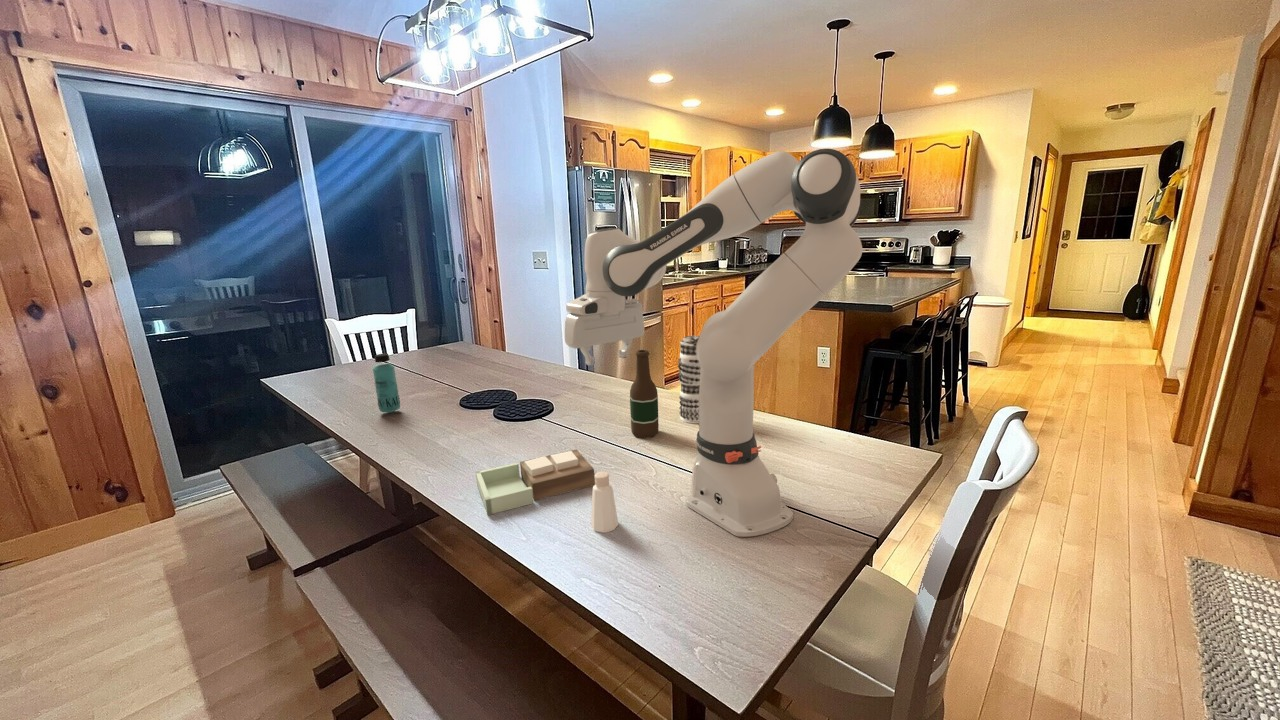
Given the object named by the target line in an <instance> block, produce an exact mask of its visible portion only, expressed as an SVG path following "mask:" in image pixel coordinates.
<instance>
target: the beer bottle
mask: <svg viewBox="0 0 1280 720" xmlns="http://www.w3.org/2000/svg"><path fill="white" fill-rule="evenodd" d="M635 356H636V361H635V362H636V363H635V364H636V366H635V370H636V372H635V373H636V374H635V379H634V381H633V383H632V384H631V386H630V389H629V407H630V408H629V410H630V412H629V413H630V429H631V433H632V435H633V436H634V437H635V438H638V439H639V438H640V439H644V440H645V439H650V438H654V437H655V436H657V435H658V434H659V428H660V427H659V397H658V396H659V395H658V388H657V386H656V384H655V383H654V381H653V380H652V377H651V376H652V375H651V372H650V371H651V370H650V358H649V356H650V352H649V351H648V350H647V349H638V350H637V351H635Z"/></svg>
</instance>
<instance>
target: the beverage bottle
mask: <svg viewBox="0 0 1280 720" xmlns="http://www.w3.org/2000/svg"><path fill="white" fill-rule="evenodd" d="M390 360H391V359H390V356H389V354H388V353H378V354H376V355H375V356H374V362H375V363H378V364H376V365H375V366H374V367H373V368H372V371H373V372H372V373H373V379H374V387H375V392H376V393H375V394H376V397H377V398H376V399H377V405H378V410H379V412H381V413H392V412H395V411H398V410H400V408H401V400H400V398H401V397H400V394H399V388H398V382H397V377H396V371H395V370H396V369H395V366H394V365H393V364H391V363H388V361H390ZM385 362H386V363H385Z"/></svg>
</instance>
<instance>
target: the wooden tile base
mask: <svg viewBox="0 0 1280 720" xmlns="http://www.w3.org/2000/svg"><path fill="white" fill-rule="evenodd" d="M568 451H569V450H568ZM568 451H566V452H568ZM570 451H572V452H573V454H574V455H575V456H576V457H577V458H578V466H573V467H569V468H565V469H561V470H557V469H556V468H555V466H554V465H553V470H554V471H551V472H547V473H543V474H540V475H536V476H533V477H532V476H531V475H530V474H529V472H528V471H527V470H526V469H525V464H524V462H525V461H528V460H529V459H527V460H523V461H519V465H520V467H519V468H520V477H521V479H522V481H523V483H524V485H525V487H526V488H527V487H531V488H532V494H533V502H534V501H538V500H542V499H546V498H549V497H553V496H557V495H562V494H566V493H569V492H573V491H577V490H582V489H586V488H588V487H593V486H594V485H595V484H596V483H595V477H594V475H595V468H594V467H593V466H592V465H591V464H590V463H589V461H587V459H586V458H585V457H584V456H583V455H582V454H581V452H580V451H579V450H578V449H576V448H575V449H573V450H572V449H571V450H570ZM563 452H564V451H563ZM563 452H561V453H563ZM559 453H560V452H559ZM559 453H557V454H559ZM554 454H555V453H554ZM554 454H550V455H544V456H545V457H546V458H547V459H548V460H549V461H550V462H551V455H554ZM532 459H533V458H532ZM532 459H530V460H532ZM534 459H536V458H534ZM551 463H552V462H551Z"/></svg>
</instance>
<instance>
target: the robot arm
mask: <svg viewBox="0 0 1280 720" xmlns="http://www.w3.org/2000/svg"><path fill="white" fill-rule="evenodd" d="M861 209H862V198H861V184H860V180H859V178H858V175H857V171H856V168H855V166H854V164H853V162H852V161H851V159H850V158H849V157H848V156H847V155H846V154H844V153H843V152H841V151H839V150H837V149H833V148H820V149H816V150H813V151H811V152H809V153H808V154H806V155H805V156H803V157H802V158H801V159H800V160H799V161H798V159H797V158H796V157H795V156H794V155H792V154H791V153H789V152H786V151H783V150H779V151H774V152H773V153H770V154H768V155H765V156H762V157H761V158H759V159H757V160H754V161H753V162H751V163H749V164H748V165H746V166H744V167H742V168H741V169H739V170H737V171H736V172H734V173H733V174H731V175H730V176H729V177H727V178H725V179H724V180H723V181H722V182H720V183H719V184H717V186H716V187H714V188H713V189H712V190H711V191H710V192H709V193H707V194H706V196H704V197H703V198H702V199H701V200H700V201H699V202H698V203H696V204H695V205H694V206H693V207H691V209H689V210H688V211H687V212H686V213H685V214H683V215H682V216H680V217H679V218H677V219H676V220H674V221H672V222H671V223H670V224H668V225H666V226H664V227H663V228H662V229H660V230H658V231H657V232H655V233H653V234H652V235H651V236H649V237H647V238H645V239H644V240H642V241H640V240H637V239H635V238H634V237H630V236H629V235H627V234H626V233H624V232H623V231H622V229H620V228H618V227H617V228H616V227H609V228H602V229H599V230H595V231H592V232H590V233H589V234H588V235H587V237H586V239H585V243H584V244H585V245H584V272H585V276H586V283H585V284H586V285H585V294H583V295H581V296H579V297H577V298H575V299H573V300H570V301H569V302H567V303H566V306H565V307H566V312H567V313H569V314H567V315H566V316H565V320H564V341H565V344H566V345H567V347H569V348H572V349H574V350H575V349H576V350H577V349H579V350H580V352H581V354H583V356H584V359H585V360H584V363H585V365H587V366H592V365H595V359H596V358H595V356H592V355H591V354H590V351H591V347H593V346H598V345H605V344H610V343H615V342H620V341H621V342H622V343H623V344H622V347H621V349H619V350H618V353H619V354H618V357H619V358H621V359H626V358H628V357H629V350H630V348H631V346H632V344H633V339H638V338H643V336H644V334H645V330H646V329H645V321H644V320H645V319H644V315H643V303H642V302H641V301H640V300H639V299H637V298H632V299H626V297H634V296H635V295H638V294H639V293H642V291H644V290H648V289H649V288H651V287H653V286H655V285H657V284H658V283H659V282H661V281H662V280H663V278H664V277H665V274H666V272H667V269H668V268H667V266H668V264H670V263H671V262H673V261H675V260H677V259H678V258H680V257H681V256H683V255H684V254H686V253H688V252H689V251H691V250H694V249H696V248H697V247H700V246H702V245H705V244H709V243H713V242H717V241H723V240H728V239H730V238H733V237H736V236H739V235H741V234H744V233H747V232H748V231H750V230H752V229H754V228H755V227H758V226H759V225H761V224H762V223H764V222H766V221H767V220H769V219H770V218H772V217H774V216H776V215H777V214H779V213H782V212H785V211H792V212H794V216H795V217H797V218H798V219H799V220H800V221H801V222H802V223H803V224H805V228H804V230H803V233H802V235H801V236H800V237H799V238H798V239H797V240H796V241H795V242H794V243H793V244H792V245H791V246H790V247H788V249H787V250H786V251H784V253H782V254H780V256H779V257H778V258H777V259H776V260H774V261H773V262H772V263H771V264H770V265H769V266H768V267H767V268H766V269H764V270H763V271H762V273H760V274H759V275H758V276H757V277H756V278H755V279H754V280H753V281H752V282H750V283H749V285H748V286H747V287H746V288H745V289H744V290H743V291H742V292H741V294H739V295H738V296H737V297H736V299H735V300H734V301H733V302H732V303H730V304H729V306H727V308H725V310H721V311H718V312H715V313H714V314H712V315H711V316H710V317H709V318H707V320H706V321H705V323H704V325H703V327H702V329H701V331H700V334H699V336H700V337H699V339H698V342H697V347H696V353H697V358H698V361H699V363H700V387H699V423H698V431H697V433H696V438H695V439H696V441H695V443H696V451H697V456H696V459H695V461H694V463H693V466H692V472H691V473H692V474H691V484H690V495H689V496H688V497H687V499H686V501H685V505H686V507H687V508H690V509H691V510H693V511H695V512H696V513H698V514H699V515H701V516H702V517H704V518H706V519H707V520H710V522H712V523H713V524H715V525H717V526H719V527H720V528H722V529H724V530H726V531H727V532H729V533H730V534H732V535H734V536H735V537H742V538H743V537H748V538H749V537H756V536H762V535H765V534H768V533H772V532H775V531H777V530H779V529H780V530H781V528H784V527H785V526H787V525H788V524H790V523H791V522H792V520H793V519H794V512H793V511H792V510H791V509H790V508H789V507H788V506H786V504H785V503H784V502H782V500H781V499H782V498H781V490H780V487H779V485H778V484H777V483H778V479H777V476H776V474H774V473H770V472H769V470H768V468H767V467H766V465H765V464H764V463H763V461H762V459H761V458H760V456H759V452H760V453H761V452H762V450H761V448H762V446H761V445H760V446H758V444H757V442H758V441H757V439H756V436H755V434H754V406H755V405H754V401H755V399H754V397H755V395H754V394H755V393H754V392H755V391H754V389H755V387H754V386H755V384H754V383H755V382H754V381H755V379H754V378H755V364H756V363H757V361H759V360H760V358H762V357H763V356H764V355H765V354H766V353H767V351H768V350H769V349H771V347H773V345H774V344H775V343H776V342H777V341H778V340H779V339H780V338H781V337H782V336H783V335H784V333H786V331H787V330H788V329H789V328H790V327H791V326H792V325H793V324H795V323H796V321H798V320H799V319H801V317H802V316H803V315H804V314H806V313H807V312H809V310H810V309H812V308H813V307H814V306H815V305H816V304H818V302H820V301H821V300H822V299H824V297H825V296H827V295H828V294H830V292H831V291H833V290H834V288H836V287H837V285H839V284H840V283H841V282H842V280H843V279H844V278H845V277H846V276H847V275H848V274H849V273H850V272H851V271H852V269H853V268H854V267H855V266H856V264H858V262H859V260H860V259H861V257H862V254H863V245H862V241H861V239H860V237H859V235H858V234H857V232H856V231H855V229H853V228H852V226H853V225H854V224H855V223H856V221H857V220H858V218H859V216H860V214H861Z"/></svg>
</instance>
